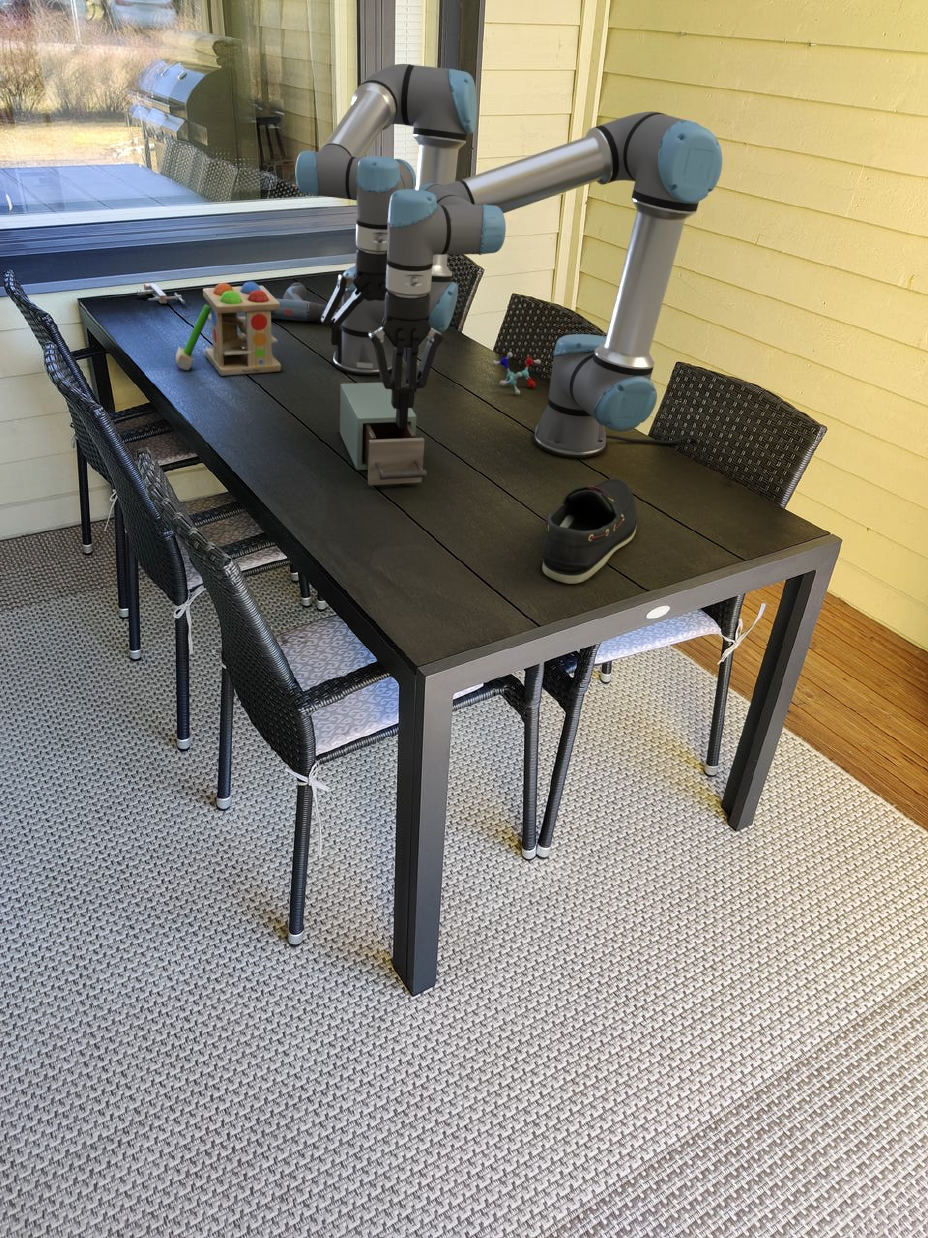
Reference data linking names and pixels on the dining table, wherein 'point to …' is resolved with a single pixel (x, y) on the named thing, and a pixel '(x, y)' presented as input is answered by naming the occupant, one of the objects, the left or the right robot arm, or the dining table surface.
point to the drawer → (392, 454)
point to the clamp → (158, 294)
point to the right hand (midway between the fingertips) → (401, 424)
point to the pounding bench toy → (229, 347)
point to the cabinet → (365, 414)
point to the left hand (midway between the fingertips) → (372, 360)
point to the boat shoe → (588, 530)
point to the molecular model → (511, 375)
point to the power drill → (298, 306)
